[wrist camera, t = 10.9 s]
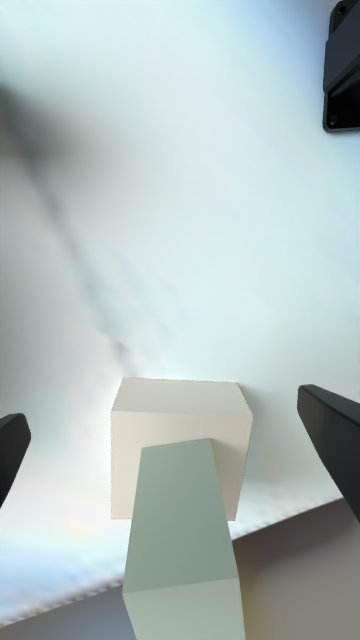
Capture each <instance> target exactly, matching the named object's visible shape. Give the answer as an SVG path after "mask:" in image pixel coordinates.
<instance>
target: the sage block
mask: <svg viewBox="0 0 360 640" xmlns="http://www.w3.org/2000/svg"><path fill="white" fill-rule="evenodd" d="M122 595H123V599H124V602H125V605H126V608H127V611H128V614H129V617H130V620H131V623H132V626H133V629H134V632H135V635H136V638H137V640H245V631H244V621H243V612H242V603H241V594H240V584H239V576H238V571H237V566H236V562H235V557H234V552H233V547H232V542H231V537H230V532H229V527H228V523H227V518H226V513H225V508H224V503H223V498H222V493H221V489H220V484H219V479H218V474H217V469H216V464H215V459H214V455H213V450H212V445H211V440H210V439H203V440H196V441H189V442H182V443H174V444H167V445H160V446H153V447H146V448H142V449H141V457H140V464H139V471H138V479H137V486H136V494H135V501H134V508H133V516H132V523H131V531H130V538H129V545H128V553H127V560H126V568H125V575H124V582H123V590H122Z"/></svg>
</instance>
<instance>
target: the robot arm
mask: <svg viewBox="0 0 360 640" xmlns="http://www.w3.org/2000/svg"><path fill="white" fill-rule="evenodd" d="M338 11H339V12H341V13H342V17H341V16H339V14H338ZM323 91H324V93H325V96H324V110H323V128H324V130H326V131H328V132H332V131H346V130H360V0H342V1H340V2H338V3H337V5H336V6H335V7H334V9H333V10H332V12H331V15H330V25H329V39H328V41H327V42H326V49H325V64H324V79H323ZM330 118H331V119H333V121H334V124H333V125H332V124H331V123H330ZM297 410H298V414H299V416H300V418H301V420H302V422H303V424H304V426H305V428H306V430H307V433H308V435H309V437H310V439H311V441H312V443H313V445H314V447H315V449H316V451H317V453H318V455H319V457H320V459H321V461H322V462H323V464H324V466H325V467H326V469H327V471H328V472H329V474H330V476H331V477H332V479H333V480H334V482H335V484H336V485H337V487H338V489H339V490H340V492H341V493H342V495H343V497H344V498H345V500H346V502H347V503H348V505H349V506H350V508H351V510H352V511H353V513H354V514H355V516H356V518H357V519H358V521H359V522H360V404H359V403H357V402H355V401H352V400H350V399H347V398H345V397H342V396H340V395H337V394H335V393H333V392H330V391H328V390H325V389H323V388H320V387H318V386H315V385H313V384H309V385H301V386H299V388H298V401H297ZM30 440H31V432H30V429H29V426H28V423H27V420H26V417H25V415H24V414H22V413H16V414H9V415H7V416H5V417H3V418H1V419H0V508H1V506H2V504H3V503H4V501H5V499H6V497H7V495H8V493H9V491H10V488H11V486H12V484H13V482H14V479H15V477H16V475H17V472H18V470H19V467H20V465H21V463H22V460H23V458H24V455H25V453H26V451H27V448H28V446H29V443H30Z"/></svg>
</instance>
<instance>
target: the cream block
mask: <svg viewBox="0 0 360 640" xmlns="http://www.w3.org/2000/svg"><path fill="white" fill-rule="evenodd" d="M253 417H254V416H253V414H252V412H251V410H250V408H249V406H248V404H247V402H246V400H245V398H244V396H243V394H242V392H241V390H240V388H239V386H238V384H237V383H235V382H212V381H190V380H167V379H145V378H123V379H122V382H121V385H120V387H119V390H118V393H117V396H116V399H115V402H114V404H113V407H112V410H111V519H132V516H133V508H134V501H135V494H136V486H137V479H138V471H139V464H140V457H141V449H142V448H146V447H153V446H160V445H167V444H174V443H182V442H189V441H196V440H203V439H210V440H211V445H212V450H213V455H214V459H215V464H216V469H217V474H218V479H219V484H220V489H221V493H222V498H223V503H224V508H225V513H226V518H227V521H235V518H236V512H237V507H238V501H239V495H240V490H241V484H242V479H243V473H244V467H245V462H246V456H247V450H248V445H249V439H250V434H251V428H252V422H253Z"/></svg>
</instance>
